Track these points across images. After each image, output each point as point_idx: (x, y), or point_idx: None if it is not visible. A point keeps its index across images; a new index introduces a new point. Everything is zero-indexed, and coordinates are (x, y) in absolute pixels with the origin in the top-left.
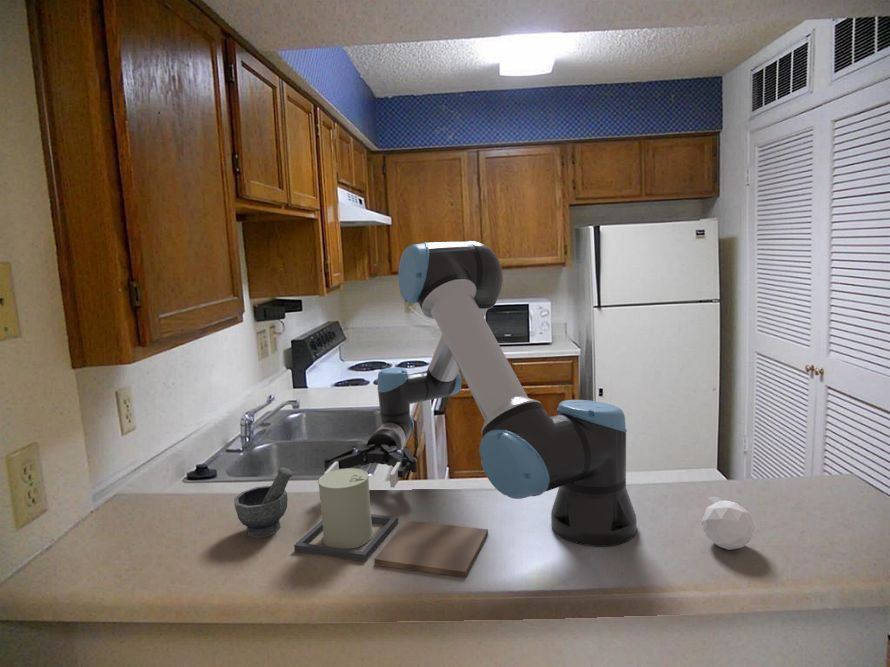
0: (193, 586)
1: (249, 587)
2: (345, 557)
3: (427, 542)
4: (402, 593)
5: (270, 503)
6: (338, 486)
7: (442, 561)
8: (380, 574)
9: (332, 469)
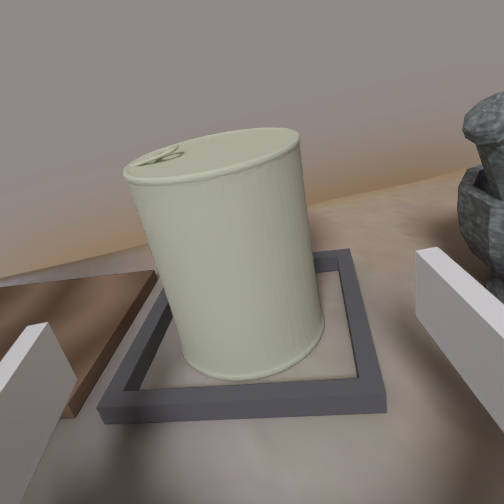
0: (437, 188)
1: (346, 207)
2: None
3: None
4: (106, 255)
5: (464, 176)
6: (207, 139)
7: (20, 296)
8: (143, 269)
9: (460, 304)
